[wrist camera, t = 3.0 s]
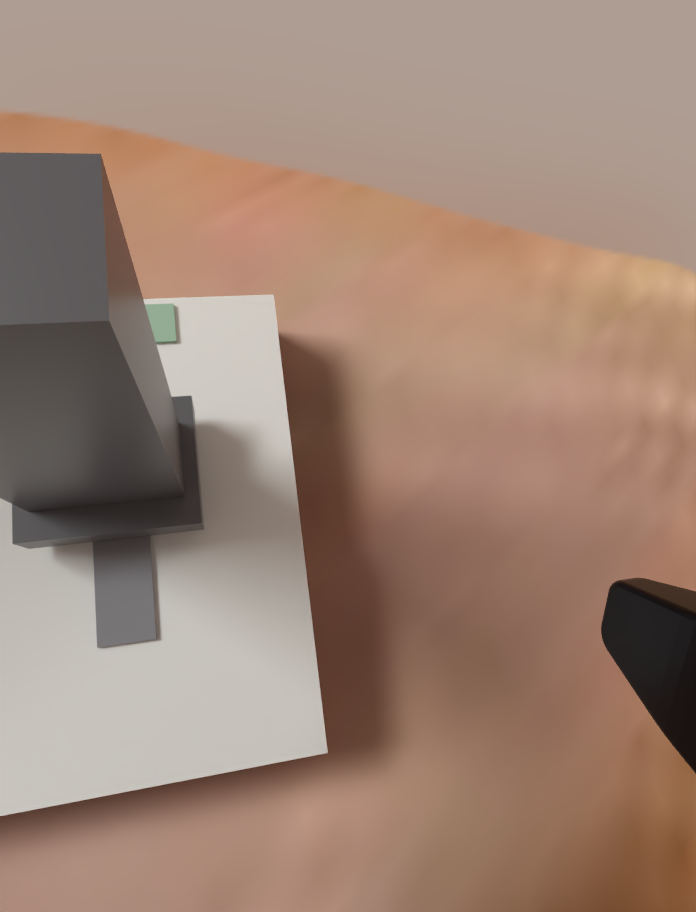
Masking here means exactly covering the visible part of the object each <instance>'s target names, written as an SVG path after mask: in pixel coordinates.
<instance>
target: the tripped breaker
mask: <svg viewBox="0 0 696 912" xmlns="http://www.w3.org/2000/svg"><path fill="white" fill-rule="evenodd" d="M0 498H1V499H3V500H5V501H7V502H9V503H11V504H12V544H14V545H18V546H21V547H24V548H28V549H33V548H42V547H51V546H60V545H69V544H78V543H87V542H96V541H105V540H114V539H123V538H132V537H141V536H150V535H159V534H168V533H177V532H186V531H195V530H204V520H203V508H202V496H201V484H200V472H199V460H198V448H197V436H196V423H195V411H194V406H193V401H192V396H177V397H172V396H171V393H170V390H169V386H168V383H167V379H166V376H165V372H164V369H163V366H162V362H161V359H160V355H159V352H158V348H157V345H156V342H155V338H154V335H153V331H152V328H151V324H150V321H149V318H148V314H147V311H146V307H145V304H144V300H143V297H142V294H141V290H140V287H139V283H138V280H137V277H136V273H135V270H134V266H133V263H132V259H131V256H130V253H129V249H128V246H127V242H126V239H125V235H124V232H123V229H122V225H121V222H120V218H119V215H118V211H117V208H116V205H115V201H114V198H113V194H112V191H111V188H110V184H109V181H108V177H107V174H106V170H105V167H104V164H103V160H102V157H101V154H65V153H0Z"/></svg>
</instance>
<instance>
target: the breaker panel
mask: <svg viewBox="0 0 696 912" xmlns="http://www.w3.org/2000/svg"><path fill="white" fill-rule="evenodd" d="M143 300H144V304H145V307H146V311H147V314H148V318H149V321H150V324H151V328H152V331H153V335H154V338H155V342H156V345H157V348H158V352H159V355H160V359H161V362H162V366H163V369H164V372H165V376H166V379H167V383H168V386H169V390H170V393H171V396H172V397H177V396H192V401H193V406H194V411H195V423H196V436H197V448H198V460H199V472H200V484H201V496H202V508H203V520H204V530H195V531H186V532H177V533H168V534H159V535H150V536H141V537H132V538H123V539H114V540H105V541H96V542H87V543H78V544H69V545H60V546H51V547H42V548H33V549H28V548H24V547H21V546H18V545H14V544H12V504H11V503H9V502H7V501H5V500H3V499H1V498H0V816H4V815H9V814H14V813H20V812H25V811H30V810H35V809H40V808H45V807H51V806H56V805H61V804H66V803H71V802H77V801H82V800H87V799H92V798H97V797H102V796H108V795H113V794H118V793H123V792H128V791H133V790H139V789H144V788H149V787H154V786H159V785H165V784H170V783H175V782H180V781H185V780H190V779H196V778H201V777H206V776H211V775H216V774H222V773H227V772H232V771H237V770H242V769H247V768H253V767H258V766H263V765H268V764H273V763H278V762H284V761H289V760H294V759H299V758H304V757H310V756H315V755H320V754H325V753H328V751H327V742H326V734H325V725H324V717H323V708H322V700H321V691H320V683H319V675H318V666H317V658H316V649H315V641H314V632H313V624H312V615H311V607H310V599H309V590H308V582H307V573H306V565H305V556H304V548H303V539H302V531H301V523H300V514H299V506H298V497H297V489H296V480H295V472H294V463H293V455H292V446H291V438H290V430H289V421H288V413H287V404H286V396H285V387H284V379H283V370H282V362H281V354H280V345H279V337H278V328H277V320H276V311H275V303H274V295H250V296H220V297H190V298H161V299H143Z"/></svg>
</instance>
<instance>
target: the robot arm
mask: <svg viewBox="0 0 696 912" xmlns="http://www.w3.org/2000/svg"><path fill="white" fill-rule="evenodd" d="M601 633H602V639H603V642H604V644H605V647H606V648H607V650H608V652H609V653H610V655H611V656H612V658H613V659H614V661H615V662H616V664H617V665H618V667H619V668H620V670H621V671H622V673H623V674H624V676H625V677H626V679H627V680H628V682H629V683H630V685H631V686H632V688H633V689H634V691H635V692H636V694H637V695H638V697H639V698H640V700H641V701H642V703H643V704H644V706H645V707H646V709H647V710H648V712H649V713H650V715H651V716H652V718H653V719H654V721H655V722H656V723H657V725H658V726H659V728H660V729H661V730H662V732H663V733H664V735H665V736H666V737H667V738H668V740H669V741H670V742H671V744H672V745H673V746H674V747H675V749H676V750H677V751H678V752H679V754H680V755H681V756H682V757H683V759H684V760H685V761H686V762H687V763H688V765H689V766H690V767H691V768H692V770H693V771H694V772H695V773H696V591H692V590H688V589H684V588H680V587H676V586H672V585H668V584H664V583H660V582H656V581H653V580H649V579H645V578H632V579H625V580H619V581H616V582H614V583H613V584H612V585H611V587H610V589H609V593H608V597H607V602H606V607H605V611H604V616H603V621H602V626H601Z"/></svg>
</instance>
